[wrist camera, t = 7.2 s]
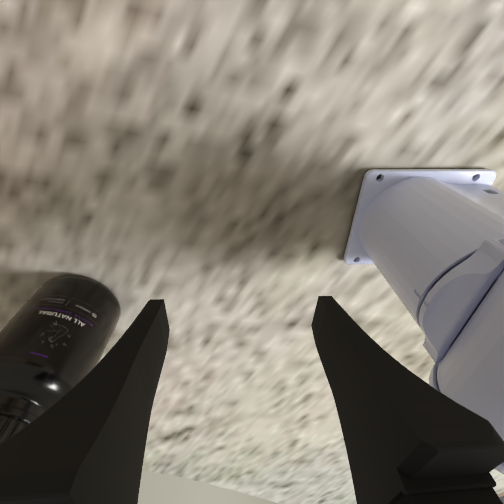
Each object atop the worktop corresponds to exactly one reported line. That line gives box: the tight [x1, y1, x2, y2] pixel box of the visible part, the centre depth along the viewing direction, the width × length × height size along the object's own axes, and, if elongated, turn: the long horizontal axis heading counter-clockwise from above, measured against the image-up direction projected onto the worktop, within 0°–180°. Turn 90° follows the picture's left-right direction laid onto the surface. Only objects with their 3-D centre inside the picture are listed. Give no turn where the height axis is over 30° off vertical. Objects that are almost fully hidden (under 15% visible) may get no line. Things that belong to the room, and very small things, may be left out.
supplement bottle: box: [0, 276, 120, 445], centre depth 20 cm, size 7×7×12 cm
